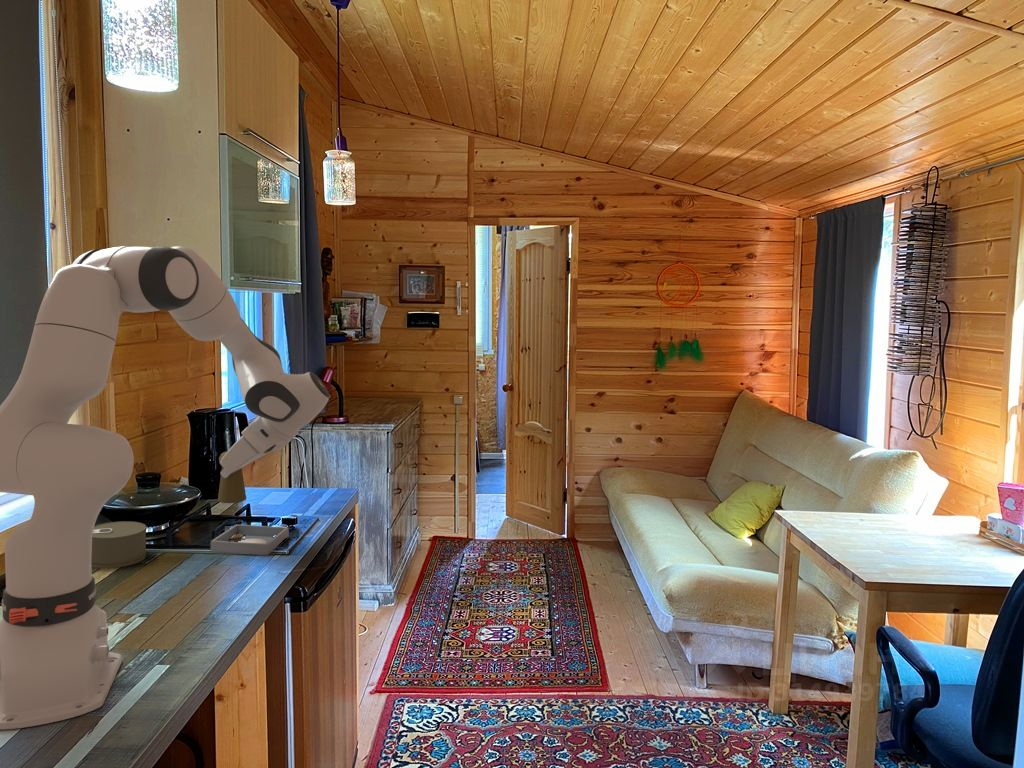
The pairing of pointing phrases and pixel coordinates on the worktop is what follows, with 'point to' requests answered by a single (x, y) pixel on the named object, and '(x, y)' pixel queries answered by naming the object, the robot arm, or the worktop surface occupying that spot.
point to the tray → (251, 533)
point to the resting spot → (254, 541)
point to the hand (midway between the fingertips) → (229, 472)
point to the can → (118, 544)
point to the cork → (231, 487)
